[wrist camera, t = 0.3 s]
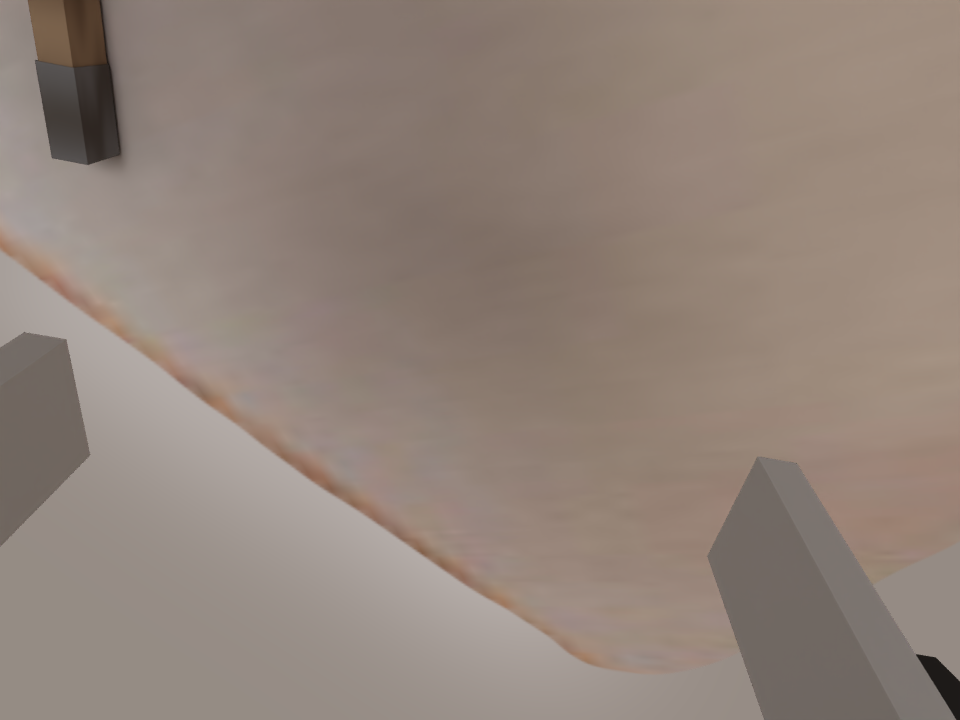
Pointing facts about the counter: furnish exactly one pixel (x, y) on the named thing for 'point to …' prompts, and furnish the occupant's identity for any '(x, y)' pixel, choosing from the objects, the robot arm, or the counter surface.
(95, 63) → the base
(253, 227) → the counter surface
